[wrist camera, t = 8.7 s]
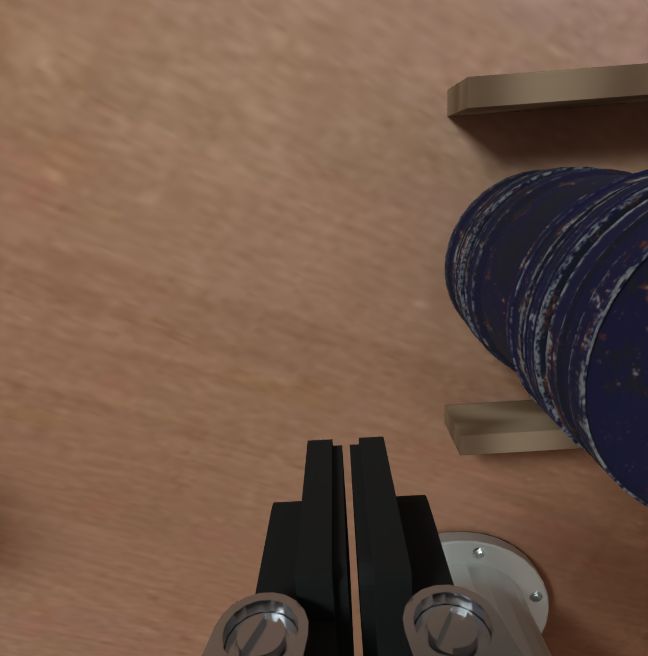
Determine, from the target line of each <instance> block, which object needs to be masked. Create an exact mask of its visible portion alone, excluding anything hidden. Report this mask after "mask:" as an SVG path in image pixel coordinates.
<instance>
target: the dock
mask: <svg viewBox="0 0 648 656" xmlns="http://www.w3.org/2000/svg"><path fill="white" fill-rule="evenodd" d="M647 101H648V63H646V64H633V65H620V66H607V67H593V68H580V69H567V70H554V71H541V72H528V73H515V74H502V75H489V76H475V77H467V78H466V79H464V80H462V81H461V82H459V83H458V84H456V85H455V86H453V87H451V88H450V89H448V116H460V115H473V114H487V113H500V112H513V111H527V110H540V109H553V108H567V107H580V106H594V105H607V104H620V103H634V102H647ZM445 425H446V427H447V429H448V431H449V433H450V435H451V437H452V439H453V442H454V444H455V446H456V448H457V450H458V452H459V454H460V455H476V454H493V453H510V452H526V451H543V450H559V449H576V448H581V447H579V446H578V445H577V444H575V443H574V442H573V441H572V440H571V439H570V438H569V437H568V436H567V435H566V434H565V433H564V432H563V431H562V430H561V429H560V427H559V426H558V425H557V424H556V423H555V422H554V421H553V420H552V419H551V418H550V417H549V416H548V414H547V413H546V412H545V411H544V410H543V409H542V408H541V407H540V406H539V405H538V404H537V403H536V402H535V401H534V400H524V401H508V402H492V403H476V404H460V405H445Z"/></svg>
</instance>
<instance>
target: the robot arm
mask: <svg viewBox="0 0 648 656" xmlns="http://www.w3.org/2000/svg"><path fill="white" fill-rule="evenodd" d="M350 456H351V473H352V489H353V506H354V522H355V539H356V555H357V570H358V585H359V600H360V615H361V630H362V644H363V656H551V653H550V651H549V649H548V647H547V645H546V643H545V641H544V638H543V636H542V632H543V630H544V628H545V625H546V623H547V618H548V612H549V602H548V594H547V591H546V588H545V585H544V582H543V580H542V579H541V577H540V575H539V573H538V571H537V569H536V567H535V566H534V565H533V564H532V562H531V561H530V560H529V559H528V557H527V556H526V555H524V554H523V553H522V552H521V551H519V550H518V549H517V548H516V547H514V546H513V545H511V544H509V543H507V542H505V541H503V540H501V539H498V538H495V537H492V536H488V535H485V534H480V533H471V532H446V533H441V534H438V532H437V528H436V525H435V522H434V519H433V515H432V512H431V509H430V506H429V503H428V500H427V497H426V496H425V495H413V496H396V494H395V490H394V485H393V480H392V475H391V471H390V466H389V461H388V456H387V452H386V447H385V442H384V438H383V437H367V438H359V444H358V445H350ZM202 656H354V644H353V623H352V602H351V581H350V560H349V543H348V528H347V513H346V498H345V482H344V467H343V452H342V445H340V446H333V442H332V439H330V440H311V441H308V444H307V454H306V464H305V474H304V485H303V495H302V501H294V502H274V503H273V506H272V510H271V515H270V520H269V525H268V531H267V536H266V541H265V546H264V552H263V557H262V562H261V567H260V572H259V578H258V583H257V588H256V593H255V594H254V595H251V596H248V597H245V598H243V599H241V600H240V601H238V602H236V603H234V604H233V605H232V606H231V607H230V608H229V609H227V610H226V611H225V612H224V613H223V614H222V616H221V617H220V619H219V620H218V622H217V624H216V625H215V627H214V629H213V632H212V634H211V636H210V638H209V641H208V643H207V645H206V648H205V650H204V652H203V654H202Z"/></svg>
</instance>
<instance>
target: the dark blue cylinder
mask: <svg viewBox="0 0 648 656" xmlns="http://www.w3.org/2000/svg"><path fill="white" fill-rule="evenodd" d="M445 279H446V286H447V289H448V293H449V297H450V299H451V301H452V303H453V305H454V307H455V309H456V310H457V312H458V313H459V315H460V316H461V318H462V319H463V320H464V321H465V322H466V324H467V325H468V327H469V328H470V330H471V331H472V333H473V334H474V335H475V336H476V337H477V338H478V339H479V341H480V342H481V343H482V344H483V345H484V346H485V348H486V349H487V350H488V351H489V352H491V353H492V354H493V355H494V356H495V357H496V358H497V359H499V360H500V361H501V362H503V363H504V364H505V365H507V366H508V367H510V368H511V369H513V370H514V371H516V372H517V373H518V376H519V377H520V380H521V382H522V384H523V386H524V387H525V389H526V390H527V392H528V393H529V394H530V396H531V397H532V399H533V400H534V401H535V402H536V403H537V404H538V405H539V406H540V407H541V408H542V409H543V410H544V411H545V412H546V413H547V414H548V416H549V417H550V418H551V419H552V420H553V421H554V422H555V423H556V424H557V425H558V426H559V427H560V429H561V430H562V431H563V432H564V433H565V434H566V435H567V436H568V437H569V438H570V439H571V440H572V441H573V442H574V443H575V444H577V445H578V446H579V447H581V448H582V449H584V450H585V451H587V452H588V453H589V454H590V455H591V456H592V457H593V458H594V460H595V461H596V462H597V463H598V464H599V465H600V466H601V467H602V468H603V469H604V470H605V472H606V473H607V474H608V475H609V476H610V477H611V478H612V479H613V480H614V481H615V482H616V483H617V484H618V485H619V486H620V487H621V488H622V489H623V490H624V491H625V492H626V493H628V494H629V495H631V496H632V497H633V498H635V499H636V500H638V501H639V502H641V503H642V504H643V505H645V506H647V507H648V170H644V171H641V172H638V173H634V174H632V173H630V172H625V171H619V170H612V169H599V168H593V167H560V168H554V169H548V170H534V171H528V172H522V173H519V174H516V175H514V176H511V177H508V178H506V179H504V180H502V181H500V182H498V183H496V184H494V185H493V186H491V187H490V188H489V189H487V190H486V191H484V192H483V193H482V194H481V195H480V196H479V197H478V198H476V199H475V200H474V201H473V202H472V203H471V204H470V206H469V207H468V208H467V209H466V211H465V212H464V213H463V215H462V216H461V218H460V219H459V221H458V223H457V225H456V226H455V228H454V230H453V233H452V235H451V238H450V240H449V243H448V248H447V252H446V258H445Z"/></svg>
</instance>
